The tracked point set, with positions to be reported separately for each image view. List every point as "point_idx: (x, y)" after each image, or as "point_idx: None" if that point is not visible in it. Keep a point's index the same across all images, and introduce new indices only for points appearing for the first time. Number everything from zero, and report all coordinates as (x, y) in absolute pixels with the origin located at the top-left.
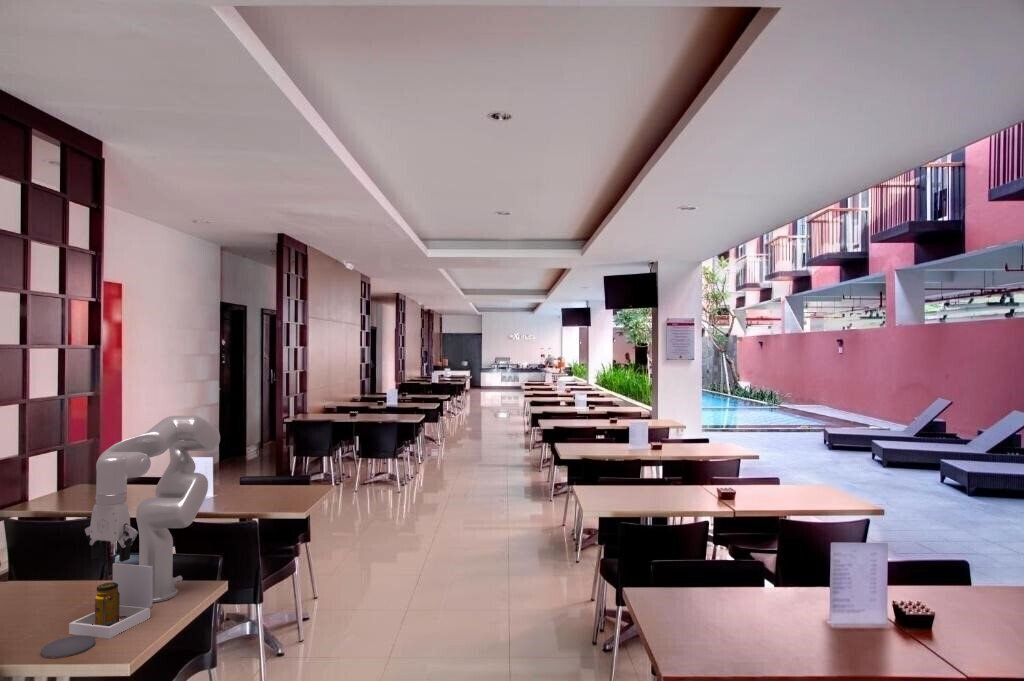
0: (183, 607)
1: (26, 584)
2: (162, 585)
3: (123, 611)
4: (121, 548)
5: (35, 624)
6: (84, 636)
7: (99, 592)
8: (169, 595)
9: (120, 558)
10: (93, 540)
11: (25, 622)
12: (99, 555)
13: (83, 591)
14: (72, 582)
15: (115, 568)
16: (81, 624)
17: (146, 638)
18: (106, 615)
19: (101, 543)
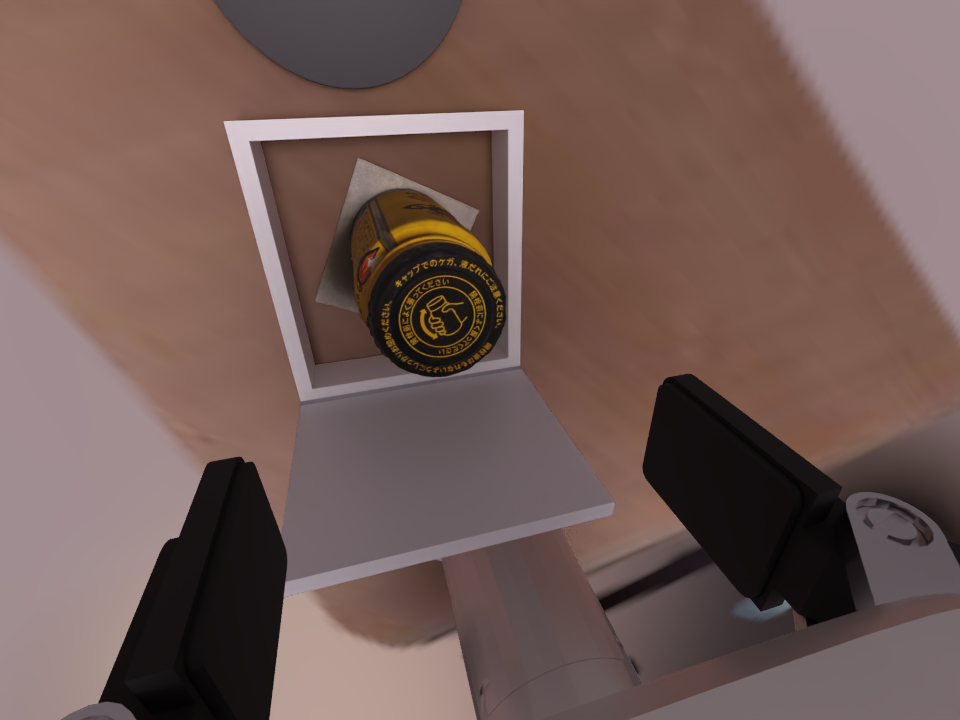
0: (284, 495)
1: (938, 398)
2: None
3: None
4: (136, 671)
5: (730, 158)
6: (365, 71)
7: (434, 240)
8: None
9: (205, 490)
10: (913, 583)
11: (780, 162)
12: (659, 458)
13: None
14: (823, 459)
15: (579, 485)
16: (441, 115)
17: (31, 194)
18: (368, 220)
19: (761, 598)
